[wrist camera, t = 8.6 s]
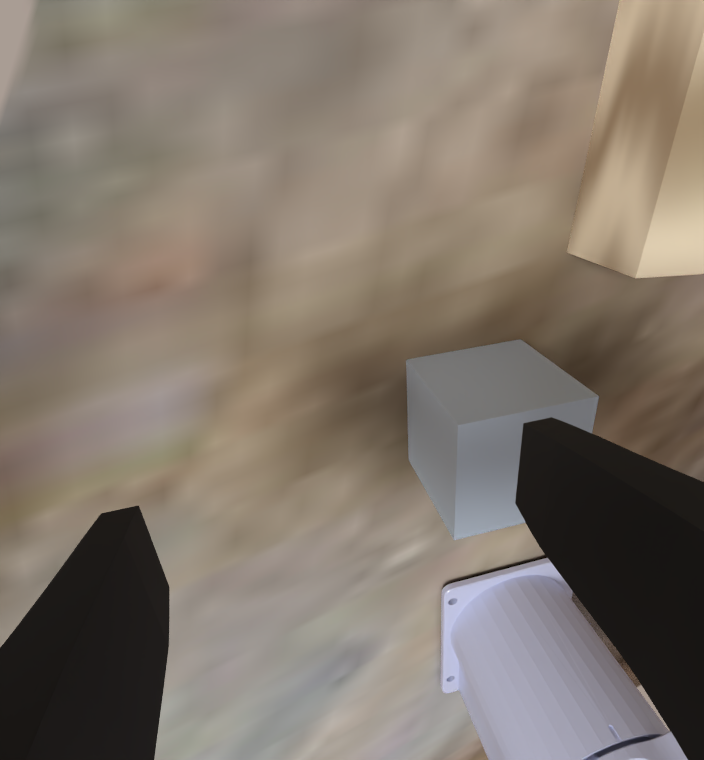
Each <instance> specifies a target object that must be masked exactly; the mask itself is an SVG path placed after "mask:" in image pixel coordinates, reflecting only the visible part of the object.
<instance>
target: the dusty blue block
mask: <svg viewBox="0 0 704 760" xmlns="http://www.w3.org/2000/svg"><path fill="white" fill-rule="evenodd" d="M406 372H407V413H408V453H409V461H410V463H411V465H412V467H413V468H414V470H415V472H416V474H417V476H418V477H419V479H420V481H421V483H422V484H423V486H424V488H425V490H426V491H427V493H428V495H429V497H430V499H431V500H432V502H433V504H434V506H435V507H436V509H437V511H438V513H439V514H440V516H441V518H442V520H443V522H444V523H445V525H446V527H447V529H448V530H449V532H450V534H451V536H452V537H453V539H454V540H457V539H461V538H465V537H469V536H473V535H477V534H481V533H485V532H489V531H494V530H498V529H502V528H506V527H510V526H514V525H518V524H522V523H526V522H525V520H524V518H523V516H522V515H521V513H520V511H519V509H518V507H517V506H516V504H515V500H516V490H517V480H518V470H519V461H520V451H521V441H522V432H523V423H527V422H532V421H536V420H541V419H546V418H550V417H552V418H555V419H558V420H561V421H563V422H566V423H568V424H571V425H573V426H576V427H578V428H580V429H583V430H585V431H587V432H589V433H592V431H593V425H594V420H595V415H596V410H597V405H598V399H599V396H598V395H597V394H595V393H594V392H593V391H591V390H590V389H588V388H587V387H586V386H584V385H583V384H582V383H580V382H579V381H577V380H576V379H575V378H573V377H572V376H571V375H569V374H568V373H566V372H565V371H564V370H562V369H561V368H560V367H558V366H557V365H555V364H554V363H553V362H551V361H550V360H549V359H547V358H546V357H544V356H543V355H542V354H540V353H539V352H538V351H536V350H535V349H533V348H532V347H531V346H529V345H528V344H527V343H525V342H524V341H522V340H521V339H519V340H513V341H508V342H502V343H497V344H491V345H485V346H480V347H474V348H468V349H463V350H457V351H452V352H446V353H440V354H435V355H429V356H423V357H418V358H412V359H407V360H406Z"/></svg>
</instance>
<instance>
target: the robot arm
mask: <svg viewBox="0 0 704 760" xmlns="http://www.w3.org/2000/svg"><path fill="white" fill-rule="evenodd" d="M515 504H516V506H517V507H518V509H519V511H520V513H521V515H522V516H523V518H524V520H525V522H526V524H527V526H528V527H529V529H530V531H531V532H532V534H533V536H534V538H535V539H536V541H537V543H538V544H539V546H540V548H541V549H542V550H543V552H544V553H545V555H546V556H547V557H548V558H544V559H540V560H537V561H533V562H529V563H525V564H522V565H518V566H514V567H510V568H507V569H503V570H499V571H495V572H492V573H488V574H484V575H480V576H477V577H473V578H469V579H465V580H462V581H458V582H454V583H450V584H448V585H446V586H445V587H444V588H443V589H442V599H441V688H442V690H443V692H444V693H451V692H455V691H458V690H459V691H460V693H461V696H462V698H463V701H464V703H465V705H466V708H467V710H468V712H469V715H470V717H471V719H472V722H473V724H474V726H475V729H476V731H477V733H478V736H479V738H480V740H481V743H482V745H483V748H484V750H485V752H486V755H487V757H488V759H489V760H704V482H702V481H700V480H697V479H695V478H692V477H690V476H687V475H685V474H683V473H680V472H678V471H676V470H673V469H671V468H669V467H666V466H664V465H662V464H659V463H657V462H655V461H652V460H650V459H648V458H646V457H643V456H641V455H639V454H637V453H634V452H632V451H630V450H628V449H625V448H623V447H621V446H619V445H616V444H614V443H612V442H610V441H607V440H605V439H603V438H601V437H599V436H596V435H594V434H592V433H589V432H587V431H585V430H583V429H580V428H578V427H576V426H573V425H571V424H568V423H566V422H563V421H561V420H558V419H555V418H552V417H550V418H546V419H541V420H536V421H532V422H527V423H523V432H522V441H521V451H520V461H519V470H518V480H517V490H516V500H515ZM573 592H574V593H575V595H576V596H577V597H578V599H579V600H580V601H581V603H582V604H583V605H584V606H585V608H586V609H587V610H588V612H589V613H590V614H591V616H592V617H593V618H594V620H595V621H596V622H597V624H598V625H599V626H600V628H601V629H602V630H603V631H604V633H605V634H606V635H607V637H608V638H609V639H610V641H611V642H612V643H613V645H614V646H615V647H616V649H617V650H618V651H619V653H620V654H621V655H622V657H623V658H624V660H625V661H626V663H627V664H628V665H629V667H630V668H631V670H632V671H633V673H634V674H635V675H636V677H637V678H638V680H639V682H640V683H641V685H642V686H643V688H644V689H645V691H646V693H647V694H648V696H649V697H650V699H651V701H652V702H653V704H654V705H655V707H656V709H657V710H658V712H659V713H660V715H661V717H662V718H663V720H664V721H665V723H666V724H667V726H668V728H669V729H670V731H668V729H667V728H666V727H665V726H664V725H663V723H662V721H661V720H660V719H659V717H658V716H657V715H656V713H655V712H654V711H653V709H652V708H651V706H650V705H649V704H648V702H647V701H646V700H645V698H644V697H643V696H642V694H641V693H640V692H639V690H638V689H637V688H636V686H635V685H634V683H633V682H632V681H631V679H630V678H629V677H628V675H627V674H626V673H625V671H624V670H623V669H622V667H621V666H620V665H619V663H618V662H617V660H616V659H615V658H614V656H613V655H612V654H611V652H610V651H609V650H608V648H607V647H606V646H605V644H604V643H603V642H602V640H601V639H600V637H599V636H598V635H597V633H596V632H595V631H594V629H593V628H592V627H591V625H590V624H589V623H588V621H587V620H586V618H585V617H584V616H583V614H582V613H581V612H580V610H579V609H578V608H577V606H576V605H575V604H574V602H573V601H572V600H571V599H572V594H573ZM168 647H169V585H168V582H167V580H166V577H165V574H164V572H163V569H162V566H161V564H160V561H159V558H158V556H157V553H156V550H155V548H154V545H153V542H152V540H151V537H150V534H149V532H148V529H147V526H146V524H145V521H144V518H143V516H142V513H141V510H140V508H139V506H134V507H130V508H125V509H120V510H116V511H111V512H106V513H102V514H101V515H100V516H99V517H98V519H97V520H96V521H95V523H94V524H93V525H92V526H91V528H90V529H89V530H88V532H87V533H86V534H85V536H84V537H83V539H82V540H81V541H80V543H79V544H78V545H77V547H76V548H75V550H74V551H73V552H72V554H71V555H70V556H69V558H68V559H67V561H66V562H65V563H64V565H63V566H62V567H61V569H60V570H59V572H58V573H57V574H56V576H55V577H54V578H53V580H52V581H51V582H50V584H49V585H48V586H47V588H46V589H45V590H44V592H43V593H42V594H41V596H40V597H39V598H38V600H37V601H36V602H35V604H34V605H33V606H32V608H31V609H30V610H29V612H28V613H27V614H26V615H25V617H24V618H23V619H22V621H21V622H20V623H19V625H18V626H17V627H16V629H15V630H14V631H13V633H12V634H11V635H10V636H9V638H8V639H7V640H6V641H5V643H4V644H3V645H2V646H1V648H0V760H154V755H155V748H156V740H157V733H158V725H159V718H160V710H161V703H162V695H163V687H164V679H165V671H166V663H167V655H168Z"/></svg>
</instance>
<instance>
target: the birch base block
mask: <svg viewBox="0 0 704 760" xmlns="http://www.w3.org/2000/svg"><path fill="white" fill-rule="evenodd" d="M567 253H569V254H572V255H575V256H577V257H580V258H583V259H585V260H588V261H591V262H593V263H596V264H599V265H601V266H604V267H607V268H609V269H612V270H615V271H617V272H620V273H623V274H625V275H628V276H631V277H633V278H649V277H664V276H679V275H695V274H704V0H620V1H619V6H618V11H617V16H616V20H615V25H614V30H613V35H612V40H611V44H610V49H609V54H608V59H607V63H606V68H605V73H604V78H603V82H602V87H601V92H600V97H599V102H598V106H597V111H596V116H595V121H594V125H593V130H592V135H591V140H590V144H589V149H588V154H587V159H586V164H585V168H584V173H583V178H582V183H581V187H580V192H579V197H578V202H577V206H576V211H575V216H574V221H573V225H572V230H571V235H570V240H569V245H568V249H567Z"/></svg>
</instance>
